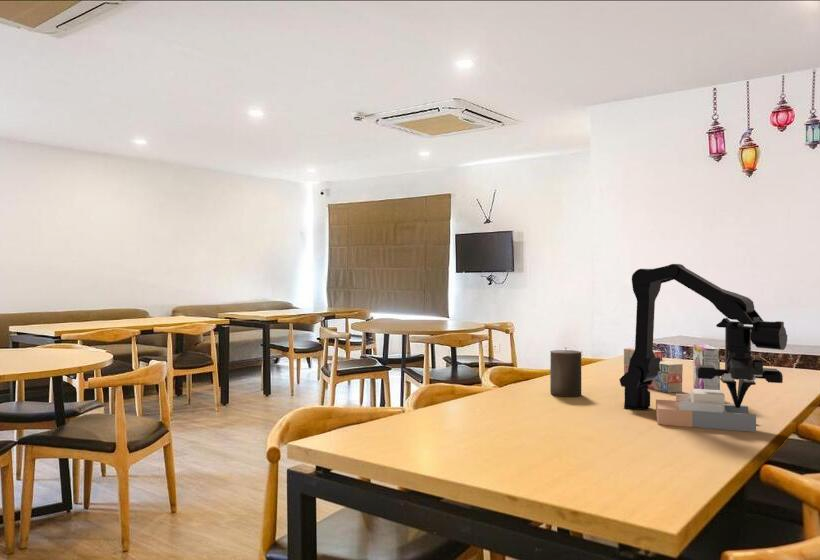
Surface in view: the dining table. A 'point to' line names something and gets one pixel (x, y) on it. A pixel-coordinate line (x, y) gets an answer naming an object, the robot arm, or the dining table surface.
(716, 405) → the channel walls
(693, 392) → the cream block
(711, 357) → the candy bar box
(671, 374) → the stack of blocks
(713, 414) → the grey piece
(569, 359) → the pillar candle
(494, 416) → the dining table surface
